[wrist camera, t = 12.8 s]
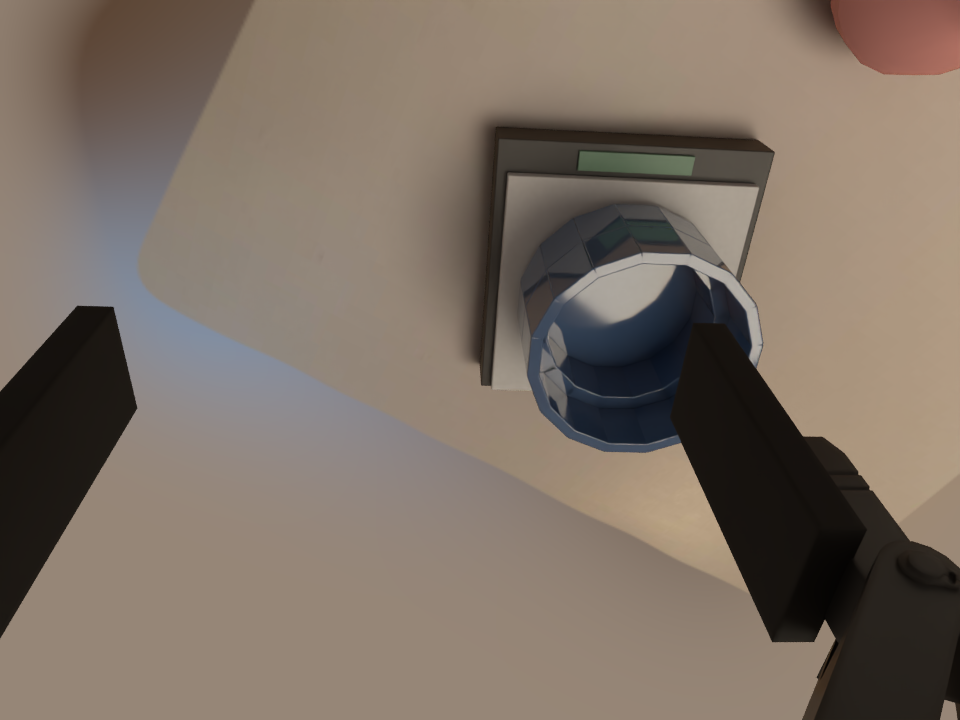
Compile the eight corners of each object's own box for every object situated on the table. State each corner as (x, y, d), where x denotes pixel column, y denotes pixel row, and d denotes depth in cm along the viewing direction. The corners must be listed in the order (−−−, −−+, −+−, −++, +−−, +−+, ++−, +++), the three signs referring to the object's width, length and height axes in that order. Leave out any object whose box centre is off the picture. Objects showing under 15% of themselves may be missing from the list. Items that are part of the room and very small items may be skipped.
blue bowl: (526, 195, 38) (540, 247, 32) (737, 205, 38) (790, 257, 32) (509, 377, 43) (519, 450, 37) (692, 382, 44) (730, 455, 38)
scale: (495, 126, 39) (498, 141, 36) (758, 139, 39) (780, 155, 37) (479, 365, 46) (481, 391, 44) (699, 372, 47) (713, 398, 45)
